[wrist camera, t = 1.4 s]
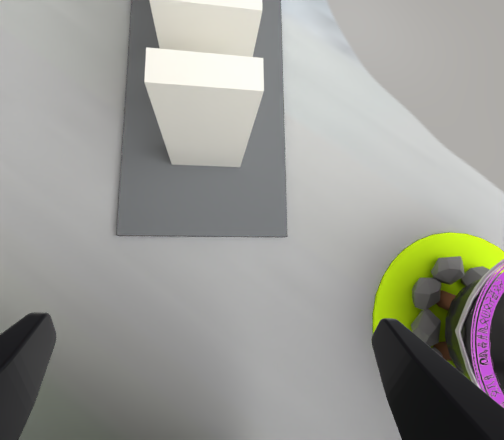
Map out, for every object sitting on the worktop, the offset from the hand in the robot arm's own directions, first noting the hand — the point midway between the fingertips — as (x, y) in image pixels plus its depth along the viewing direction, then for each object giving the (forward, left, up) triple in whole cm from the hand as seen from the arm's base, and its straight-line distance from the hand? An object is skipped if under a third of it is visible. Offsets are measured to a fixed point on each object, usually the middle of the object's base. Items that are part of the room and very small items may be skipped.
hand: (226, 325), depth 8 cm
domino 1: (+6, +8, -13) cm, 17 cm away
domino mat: (+11, +14, -14) cm, 23 cm away
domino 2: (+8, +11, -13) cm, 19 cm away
